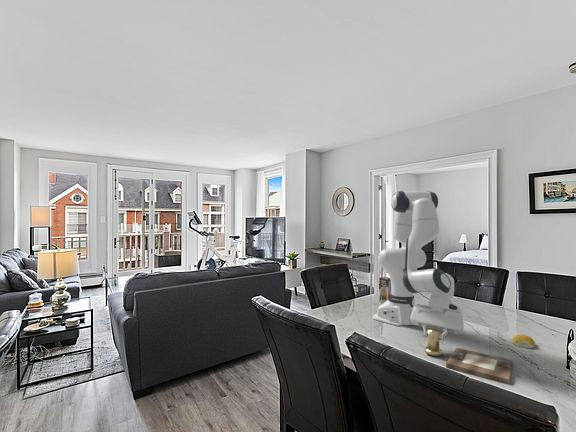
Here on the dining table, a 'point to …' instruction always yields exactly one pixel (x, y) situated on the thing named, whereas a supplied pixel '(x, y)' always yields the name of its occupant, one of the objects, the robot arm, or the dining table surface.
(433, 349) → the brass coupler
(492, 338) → the dining table surface
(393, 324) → the robot arm
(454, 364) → the board
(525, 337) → the bread roll
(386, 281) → the coffee box
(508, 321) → the dining table surface
